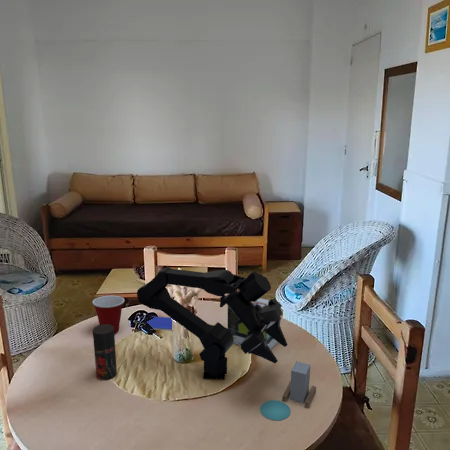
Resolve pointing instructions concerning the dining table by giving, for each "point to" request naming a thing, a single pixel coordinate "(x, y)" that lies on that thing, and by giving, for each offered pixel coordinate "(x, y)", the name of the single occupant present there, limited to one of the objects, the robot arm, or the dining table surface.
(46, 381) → the dining table surface
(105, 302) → the plastic cup
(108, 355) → the deodorant
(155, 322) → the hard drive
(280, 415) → the pad
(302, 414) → the dining table surface
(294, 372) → the grey block
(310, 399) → the pair of brown bars
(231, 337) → the robot arm
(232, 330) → the tea box
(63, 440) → the dining table surface
